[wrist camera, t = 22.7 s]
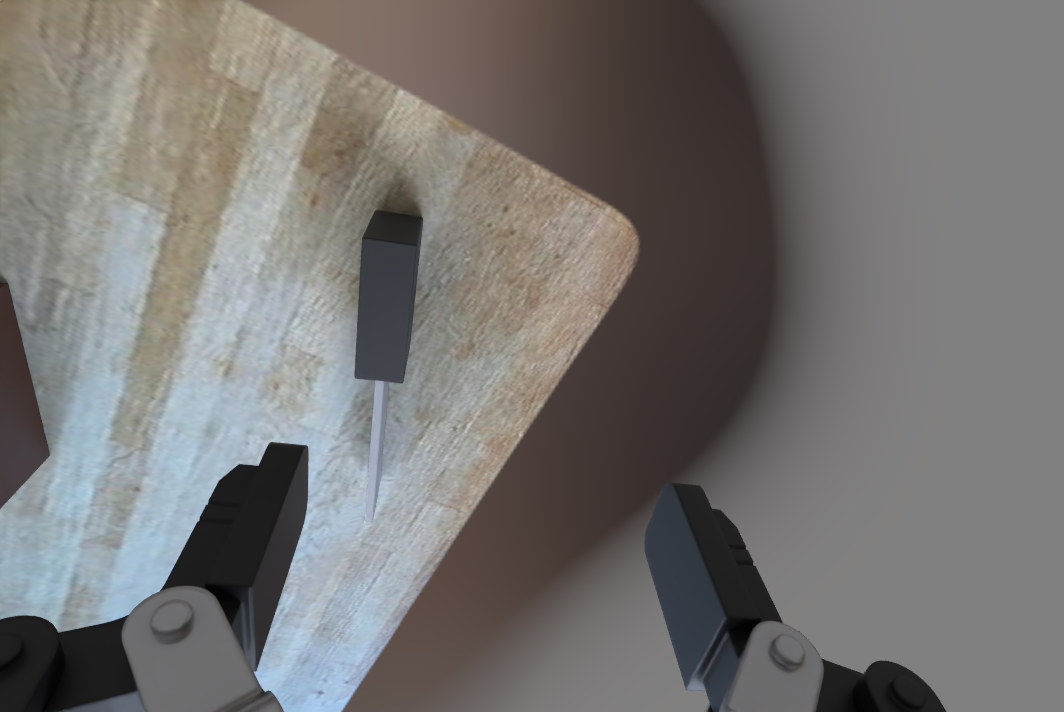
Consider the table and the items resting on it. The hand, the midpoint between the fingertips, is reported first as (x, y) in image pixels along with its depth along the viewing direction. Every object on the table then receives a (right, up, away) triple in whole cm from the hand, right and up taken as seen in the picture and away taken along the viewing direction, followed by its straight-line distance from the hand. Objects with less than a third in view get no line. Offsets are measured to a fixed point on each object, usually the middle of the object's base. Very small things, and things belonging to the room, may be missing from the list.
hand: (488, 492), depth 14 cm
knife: (-8, +3, +24) cm, 25 cm away
